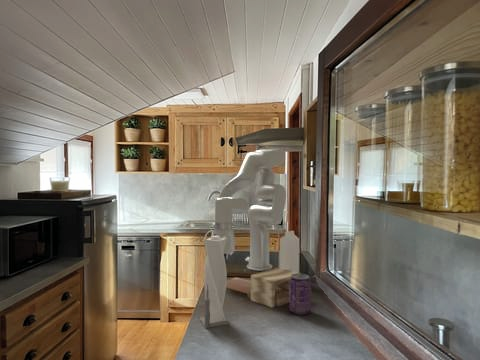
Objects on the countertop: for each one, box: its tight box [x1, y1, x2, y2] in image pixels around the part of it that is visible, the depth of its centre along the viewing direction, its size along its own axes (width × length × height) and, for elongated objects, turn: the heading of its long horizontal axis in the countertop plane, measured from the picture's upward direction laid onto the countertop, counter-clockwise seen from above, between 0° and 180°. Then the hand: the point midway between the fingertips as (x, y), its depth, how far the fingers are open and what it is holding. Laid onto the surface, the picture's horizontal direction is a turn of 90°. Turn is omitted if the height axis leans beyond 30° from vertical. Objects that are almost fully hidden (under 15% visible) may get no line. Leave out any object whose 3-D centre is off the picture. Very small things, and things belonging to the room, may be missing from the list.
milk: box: [279, 230, 300, 273], centre depth 147 cm, size 6×6×22 cm
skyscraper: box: [198, 229, 228, 329], centre depth 107 cm, size 8×8×28 cm
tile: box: [226, 276, 251, 295], centre depth 137 cm, size 16×7×3 cm, turn 50°
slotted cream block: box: [247, 267, 301, 308], centre depth 128 cm, size 14×16×9 cm
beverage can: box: [288, 273, 312, 316], centre depth 114 cm, size 7×7×12 cm
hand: (222, 269), depth 146 cm, fingers closed
